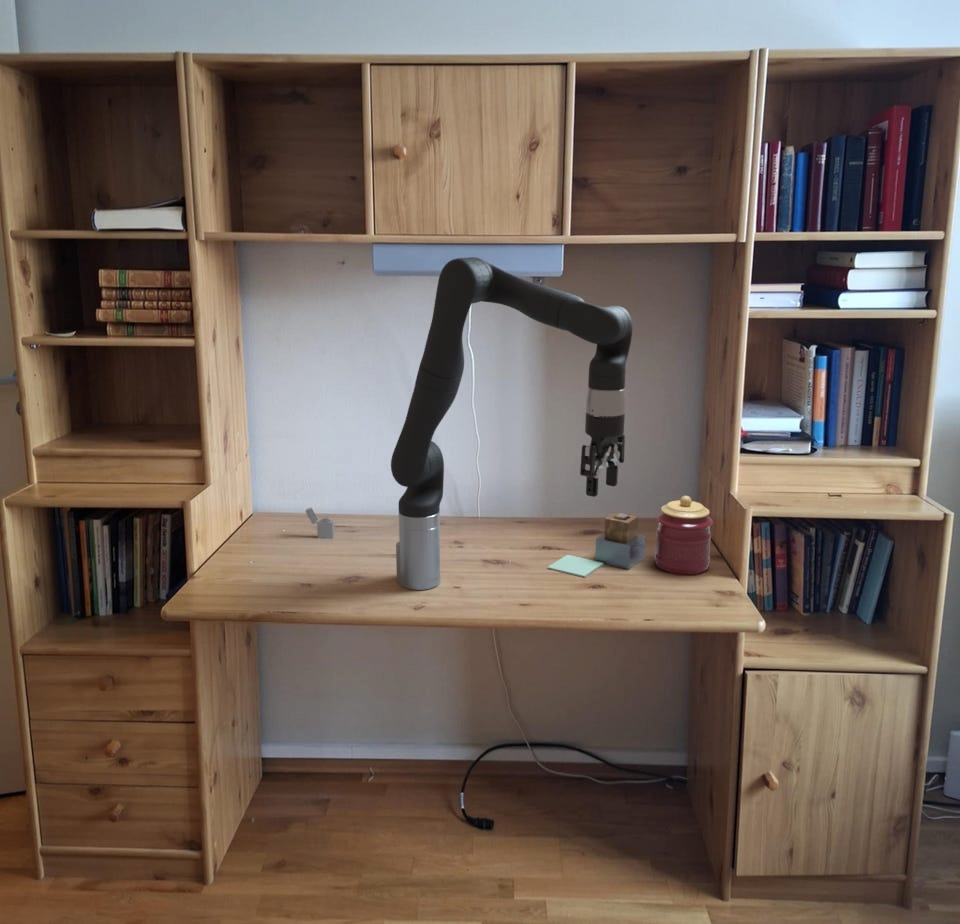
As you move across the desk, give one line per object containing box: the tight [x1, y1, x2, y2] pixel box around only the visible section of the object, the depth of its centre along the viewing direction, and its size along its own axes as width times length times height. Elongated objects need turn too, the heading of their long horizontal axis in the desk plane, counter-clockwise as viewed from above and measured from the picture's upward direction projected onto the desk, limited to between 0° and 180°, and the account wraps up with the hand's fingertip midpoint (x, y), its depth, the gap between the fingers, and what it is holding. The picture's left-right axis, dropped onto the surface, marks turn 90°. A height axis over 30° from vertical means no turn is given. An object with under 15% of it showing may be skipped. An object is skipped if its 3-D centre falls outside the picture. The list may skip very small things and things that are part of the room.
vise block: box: [594, 513, 646, 570], centre depth 214 cm, size 9×9×12 cm
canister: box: [654, 495, 714, 576], centre depth 210 cm, size 13×13×18 cm
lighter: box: [305, 507, 335, 539], centre depth 231 cm, size 7×2×8 cm, turn 87°
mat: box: [547, 554, 605, 578], centre depth 212 cm, size 10×10×1 cm
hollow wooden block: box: [604, 512, 639, 543], centre depth 214 cm, size 6×6×5 cm
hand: (601, 490), depth 174 cm, fingers open, 8 cm apart
